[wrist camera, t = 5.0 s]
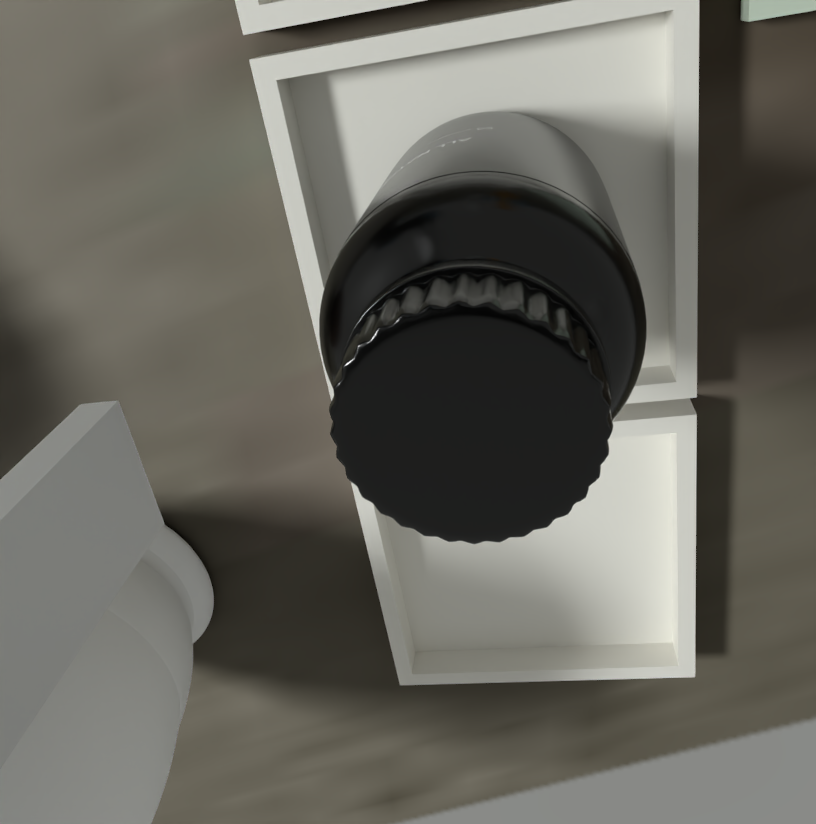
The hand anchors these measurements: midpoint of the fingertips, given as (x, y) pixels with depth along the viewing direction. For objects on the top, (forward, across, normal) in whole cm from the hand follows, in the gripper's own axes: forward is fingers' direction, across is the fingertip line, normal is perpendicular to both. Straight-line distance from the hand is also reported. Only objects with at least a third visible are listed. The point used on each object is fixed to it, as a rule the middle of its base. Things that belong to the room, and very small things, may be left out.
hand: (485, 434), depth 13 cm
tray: (+12, 0, -12) cm, 17 cm away
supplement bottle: (+12, 0, 0) cm, 12 cm away
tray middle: (+12, 0, 0) cm, 12 cm away
